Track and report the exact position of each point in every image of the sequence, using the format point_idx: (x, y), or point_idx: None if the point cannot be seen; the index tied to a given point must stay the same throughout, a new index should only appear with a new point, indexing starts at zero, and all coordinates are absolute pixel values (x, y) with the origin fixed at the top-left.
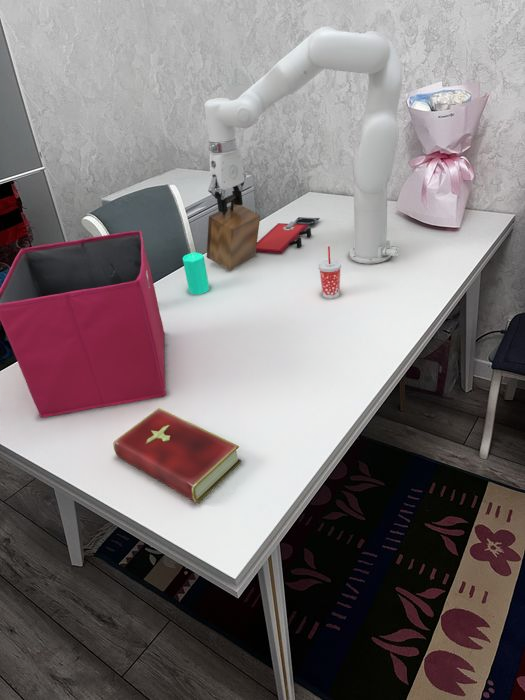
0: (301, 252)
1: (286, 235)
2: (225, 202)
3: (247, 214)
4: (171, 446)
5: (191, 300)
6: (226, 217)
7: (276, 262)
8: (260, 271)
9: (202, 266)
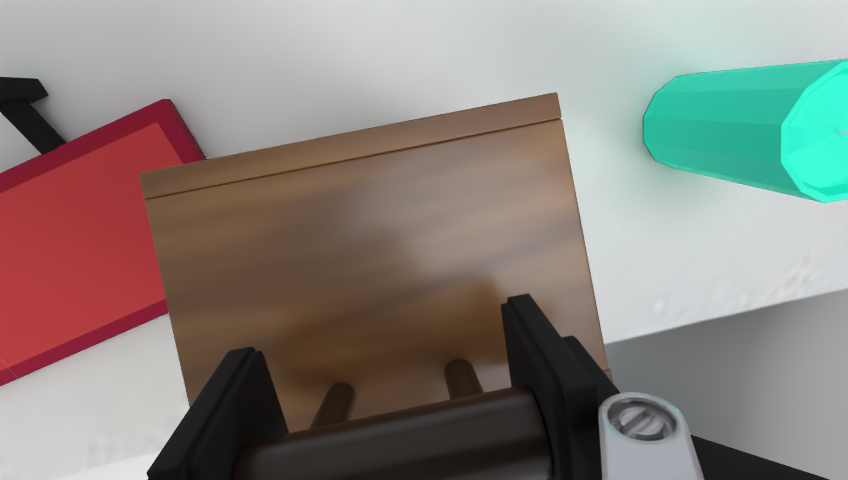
0: (63, 22)
1: (10, 242)
2: (565, 356)
3: (252, 249)
4: None
5: (777, 62)
6: (481, 303)
7: (254, 43)
8: (384, 28)
9: (797, 65)
